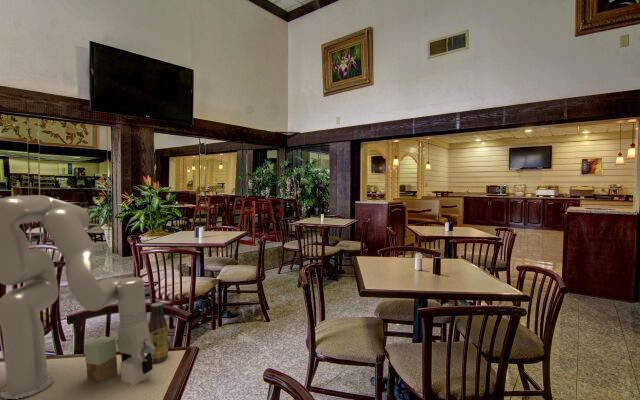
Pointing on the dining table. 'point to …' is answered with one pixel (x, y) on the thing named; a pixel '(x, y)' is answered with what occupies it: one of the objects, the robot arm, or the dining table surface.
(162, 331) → the sauce bottle
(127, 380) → the stone cube
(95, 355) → the sage cube
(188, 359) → the dining table surface
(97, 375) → the walnut cube
